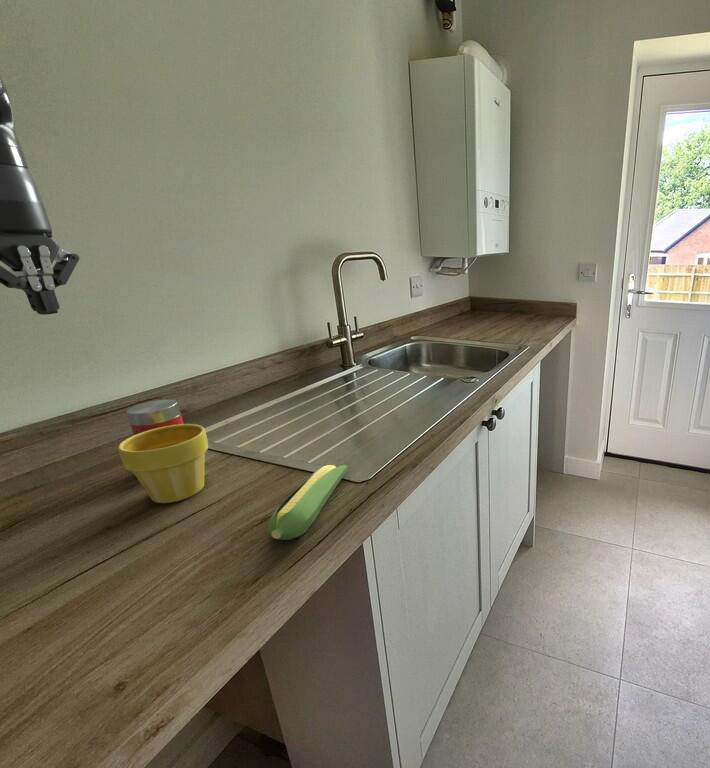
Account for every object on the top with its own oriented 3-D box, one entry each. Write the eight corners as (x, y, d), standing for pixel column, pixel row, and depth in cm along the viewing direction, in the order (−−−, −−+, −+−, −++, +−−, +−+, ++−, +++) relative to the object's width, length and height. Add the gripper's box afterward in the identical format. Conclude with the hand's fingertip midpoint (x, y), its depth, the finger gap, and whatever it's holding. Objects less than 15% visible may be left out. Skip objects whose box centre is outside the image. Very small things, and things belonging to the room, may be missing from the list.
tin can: (150, 479, 69) (129, 417, 65) (142, 466, 73) (122, 406, 70) (198, 464, 74) (181, 405, 70) (189, 452, 78) (172, 396, 74)
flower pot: (211, 468, 73) (197, 417, 69) (225, 491, 66) (210, 436, 63) (134, 491, 66) (115, 436, 63) (140, 520, 59) (119, 460, 56)
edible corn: (259, 551, 53) (252, 521, 51) (329, 470, 72) (325, 447, 70) (299, 551, 52) (293, 521, 51) (358, 470, 71) (355, 447, 70)
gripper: (42, 204, 69) (77, 307, 74) (-79, 195, 56) (-26, 320, 62) (76, 203, 67) (110, 308, 73) (-40, 193, 55) (11, 321, 61)
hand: (47, 313), depth 67 cm, fingers closed
